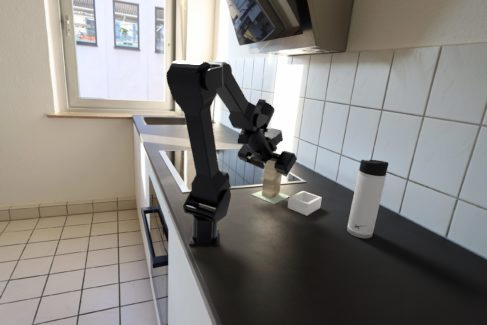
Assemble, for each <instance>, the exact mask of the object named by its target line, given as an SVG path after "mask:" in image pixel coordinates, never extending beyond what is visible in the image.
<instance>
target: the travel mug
mask: <svg viewBox="0 0 487 325" xmlns="http://www.w3.org/2000/svg"><path fill="white" fill-rule="evenodd" d="M388 167H389V162H388V161H384V160H377V159H369V160H368V159H367V160H365V159H361V160H360V164H359V169H358V173H357V178H356V182H355V183H356V184H355V188H354V194H353V198H352V202H351V206H350V212H349V217H348V221H347V222H348V223H347V228H346V230H347V232H348V233H349V234H350V235H351V236H354V237H356V238H359V239H370V238H372V237H373V233H374V229H375V225H376V221H377V217H378V213H379V210H380V209H379V208H380V203H381V200H382V199H381V198H382V194H383V190H384V185H385V182H386V177H387V171H388Z"/></svg>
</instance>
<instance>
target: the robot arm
mask: <svg viewBox="0 0 487 325" xmlns="http://www.w3.org/2000/svg"><path fill="white" fill-rule="evenodd" d="M165 75H166V83H167V86H168V89H169V91H170V94H171V98H172V100H174V102H175V103H176V104H177V105H178V107H179V108H180V110H181V111H182V112H183V115H184V119H185V123H186V124H185V125H186V128H187V134H188V139H189V140H188V141H189V144H190V149H191V154H192V160H193V164H194V169H195V176H194V178H193V179H192V182H191V184H190V186H191V188H190V192H189V194H188V195H187V198H186V199H185V201H184V203H183V205H182V207H183V208H182V209H183V212H184V213H185V214H188V215H192V229H191V231H190V235H189V236H190V237H189V241H188V245H189V246H197V247H198V246H204V247H205V246H206V247H207V246H208V247H217V246H219V245H220V244H219V242H220V241H219V238H220V235H219V234H220V230H219V229H218V225H219V222H220V221H221V220H223V218H225V217H227V215H228V211H229V207H230V202H231V198H232V193H231V188H232V186H231V183H230V174H229V173H228V172H226V171H221V170H220V168H219V161H218V155H217V148H216V147H217V146H216V141H215V140H216V139H215V133H214V127H213V126H214V124H213V120H212V119H213V118H212V112H211V106H212V104H213V103H214V100H215V98H216V96H217V95H218V97H219V99H221V101H222V103H223V104H224V106H225V107H226V108H227V110H228V112H229V115H228V119H229V122H230V124H231V126H232V128H233V129H238V130H241V131H240V133H239V134H238V138H237V144H238V145H241V147H240V148H239V150H238V151H237V157H238V159H239V160H241V161H243V162H245V163H248V164H249V165H252V166H255V167H257V168H259V169H261V170H264V168H265V164H266V163H267V161H269V160H272V161H275V166H274V168H275V170H277V171H276V172H278V173H280V174H282V176H284V177H286V178H287V177H288V175H289V173H290V172H291V171H292V168H293V167H294V165H295V164H296V162H297V160H298V157H297V156H296V154H295V153H294V152H291V151H288V150H287V151H286V150H282V151H281V152H280V153H277V152H276V151H277V150H278V146H277V145H278V144H280V143H281V142H283V141H284V139H283V132H282V130H281V129H277V128H271V127H270V128H269V127H268V126H269V125H270V122H271V120H272V118H273V115H274V113H275V107H273V105H272V104H270V103H268V102H267V101H266V99H262V98H258V100H257V103H255V104H253V103H252V102H250V101H248V99H247V98H246V96H245V94H244V93H243V91H242V89H241V87H240V85H239V84H238V82H237V80H236V77H235V76H234V75H233V70H232V66H231V64H230V63H227V62H225V61H211V60H209V61H196V60H195V61H194V60H182V59H181V60H180V59H179V60H174V61H172V62H171V64H170V66H169V68H168V70H167V71H166V74H165Z"/></svg>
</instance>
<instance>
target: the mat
mask: <svg viewBox="0 0 487 325" xmlns="http://www.w3.org/2000/svg"><path fill="white" fill-rule="evenodd" d="M250 195H251V196H253V197H254V198H257V199H260V200H262V201H265V202H267V203H270V204H272V205H276V204H277V203H280V202H282V201H284V200H286V199H289V198H288V197H290V196H291V195H287V194H286V193H282V192H280V193H279V195H278V196H276V197H274V198H271V199H269V198H267V197H264V196H262V190H259V191H256V192H254V193H251V194H250Z"/></svg>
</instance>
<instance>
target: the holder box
mask: <svg viewBox="0 0 487 325" xmlns="http://www.w3.org/2000/svg"><path fill="white" fill-rule="evenodd" d="M289 196H290V197H289V198H288V202H287V209H290V210H292V211H295V212H297V213H300V214H301V215H304V216H309V215H311V214H312V213H314V212H315V211H317V210H319V209H320V208H321V205H322V204H321V203H322V200H323V199H322V198H323V197H322V196H319V195H316V194H314V193H310V192H308V191H305V190H302V191H299V192H297V193H295V194H293V195H289Z"/></svg>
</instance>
